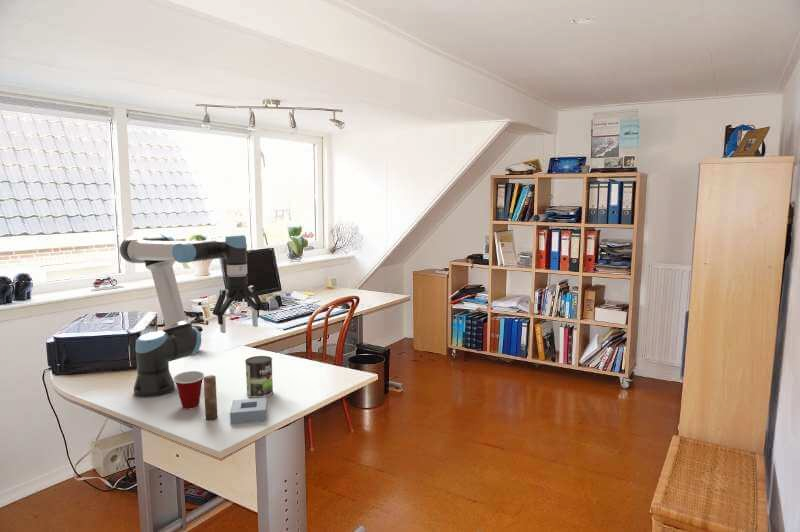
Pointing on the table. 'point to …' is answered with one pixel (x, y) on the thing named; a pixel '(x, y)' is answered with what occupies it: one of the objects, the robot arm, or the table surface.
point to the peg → (210, 397)
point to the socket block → (248, 410)
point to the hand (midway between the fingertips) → (239, 329)
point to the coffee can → (259, 376)
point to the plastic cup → (189, 388)
